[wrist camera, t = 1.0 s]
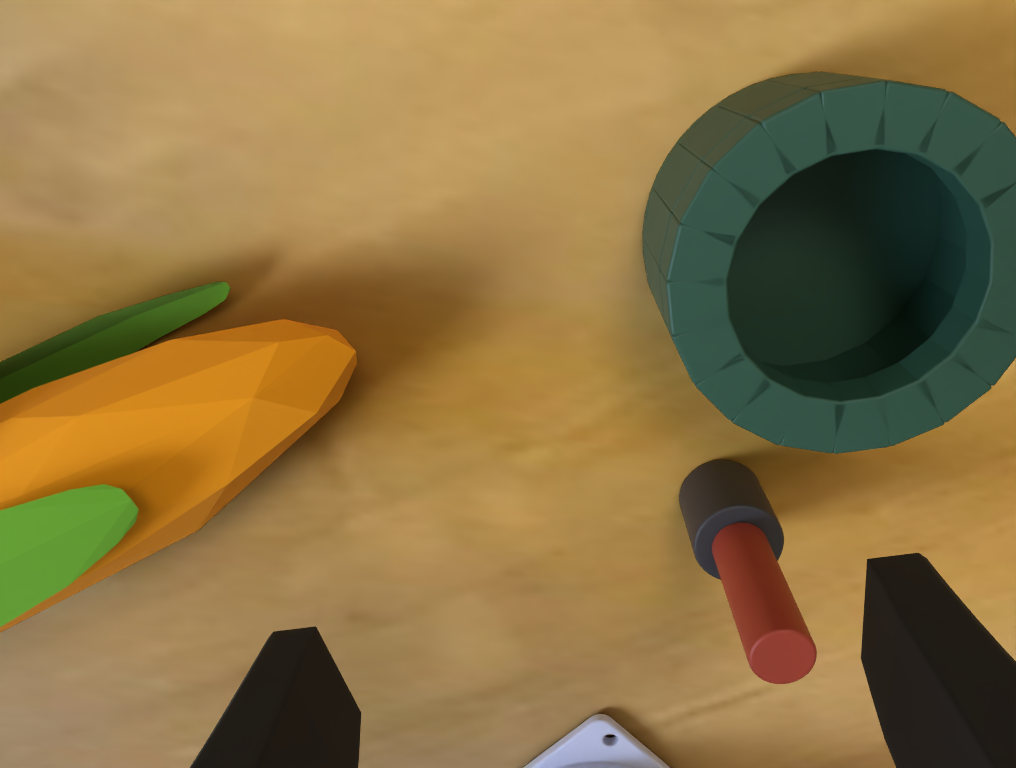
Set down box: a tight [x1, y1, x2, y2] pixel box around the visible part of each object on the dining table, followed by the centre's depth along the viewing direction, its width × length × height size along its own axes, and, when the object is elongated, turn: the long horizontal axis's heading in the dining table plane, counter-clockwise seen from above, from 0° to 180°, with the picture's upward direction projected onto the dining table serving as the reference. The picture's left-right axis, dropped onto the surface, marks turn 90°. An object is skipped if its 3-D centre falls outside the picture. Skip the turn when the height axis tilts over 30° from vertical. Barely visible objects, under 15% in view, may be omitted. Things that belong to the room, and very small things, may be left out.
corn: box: [0, 282, 357, 632], centre depth 25 cm, size 7×8×20 cm
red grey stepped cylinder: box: [679, 460, 817, 684], centre depth 25 cm, size 3×3×8 cm
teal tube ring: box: [643, 72, 1016, 454], centre depth 23 cm, size 9×9×6 cm
